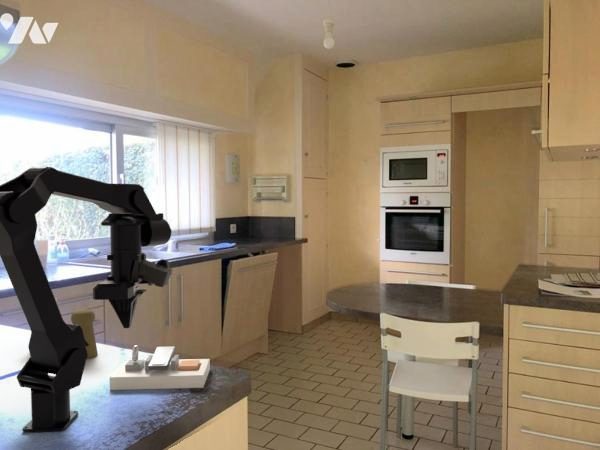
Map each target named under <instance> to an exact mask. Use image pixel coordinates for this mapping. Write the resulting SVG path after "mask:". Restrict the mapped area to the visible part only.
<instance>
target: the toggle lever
mask: <svg viewBox="0 0 600 450" xmlns="http://www.w3.org/2000/svg"><path fill="white" fill-rule="evenodd" d="M139 351H140V347H139V345H137V344H136V345H134V346H133V347H132V351H131V360H133V361H137V360H139Z"/></svg>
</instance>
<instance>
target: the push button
mask: <svg viewBox="0 0 600 450" xmlns="http://www.w3.org/2000/svg"><path fill="white" fill-rule="evenodd" d="M199 368H200V365H199V360H182V361H181V363H180V365H179V371H196V370H199Z"/></svg>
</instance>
